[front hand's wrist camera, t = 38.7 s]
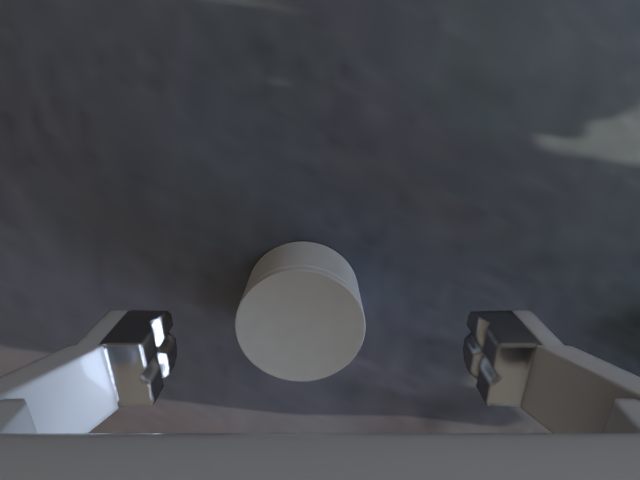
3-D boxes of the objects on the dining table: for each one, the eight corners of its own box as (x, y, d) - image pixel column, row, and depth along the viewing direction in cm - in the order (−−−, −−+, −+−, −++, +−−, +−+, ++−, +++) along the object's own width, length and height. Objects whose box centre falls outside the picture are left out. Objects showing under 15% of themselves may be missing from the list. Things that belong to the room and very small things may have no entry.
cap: (264, 346, 14) (255, 391, 12) (234, 253, 13) (217, 285, 11) (366, 326, 14) (375, 369, 12) (346, 230, 12) (352, 257, 10)
